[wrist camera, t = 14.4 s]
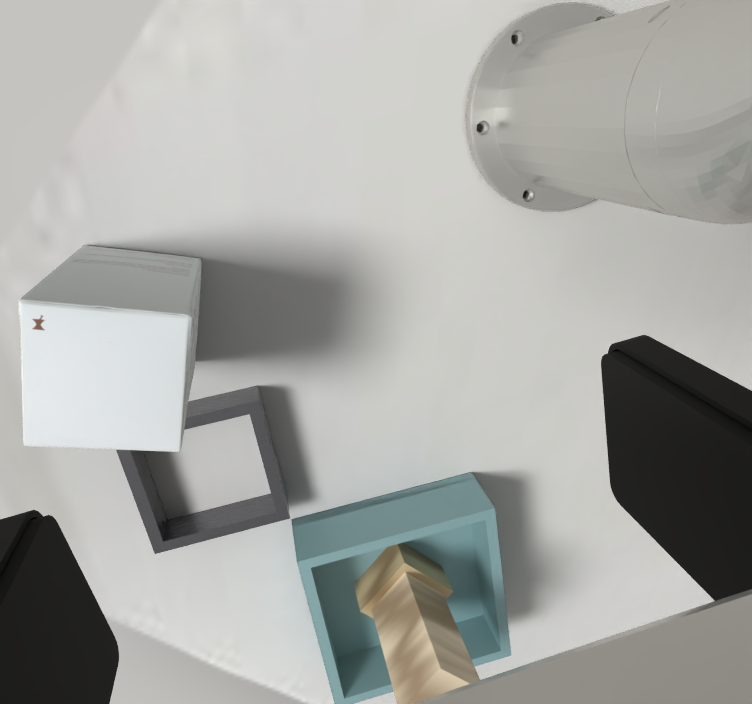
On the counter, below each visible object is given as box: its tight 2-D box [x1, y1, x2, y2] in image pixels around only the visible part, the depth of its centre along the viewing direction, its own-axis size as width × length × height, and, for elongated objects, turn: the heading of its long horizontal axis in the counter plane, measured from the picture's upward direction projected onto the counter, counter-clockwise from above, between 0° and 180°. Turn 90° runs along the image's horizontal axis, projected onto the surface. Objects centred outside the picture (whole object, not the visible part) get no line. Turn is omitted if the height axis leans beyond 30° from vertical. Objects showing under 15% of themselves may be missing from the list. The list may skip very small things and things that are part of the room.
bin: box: [292, 472, 511, 704], centre depth 49 cm, size 15×15×5 cm
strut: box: [354, 543, 480, 704], centre depth 45 cm, size 5×5×12 cm
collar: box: [116, 386, 290, 554], centre depth 44 cm, size 10×10×2 cm
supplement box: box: [18, 245, 202, 452], centre depth 34 cm, size 7×7×13 cm
